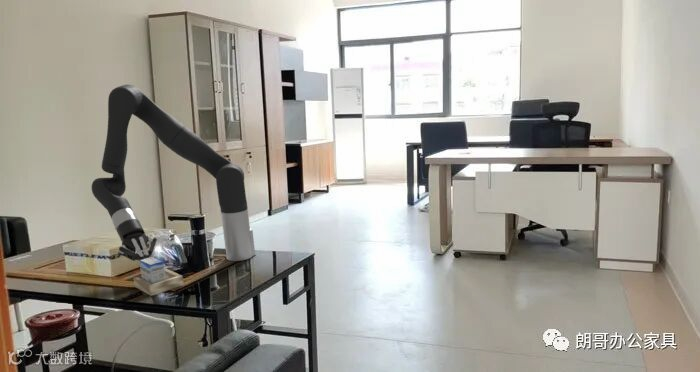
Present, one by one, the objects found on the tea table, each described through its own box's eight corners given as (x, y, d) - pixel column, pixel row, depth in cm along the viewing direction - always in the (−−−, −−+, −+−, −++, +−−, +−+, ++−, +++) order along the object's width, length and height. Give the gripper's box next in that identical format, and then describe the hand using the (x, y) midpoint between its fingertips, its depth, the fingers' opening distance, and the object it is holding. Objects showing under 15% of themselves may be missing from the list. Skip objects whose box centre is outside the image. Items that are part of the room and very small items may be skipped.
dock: (166, 276, 173) (164, 268, 173) (183, 284, 165) (182, 275, 164) (134, 286, 166) (133, 277, 166) (151, 295, 158) (149, 286, 157)
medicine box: (142, 286, 166) (138, 260, 164) (156, 282, 169) (152, 256, 168) (153, 292, 161) (149, 265, 159) (167, 287, 164) (163, 260, 162)
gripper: (108, 223, 168) (130, 267, 162) (149, 214, 177) (170, 255, 171) (105, 236, 173) (126, 280, 167) (144, 227, 182) (165, 267, 176)
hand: (148, 267), depth 169 cm, fingers closed
